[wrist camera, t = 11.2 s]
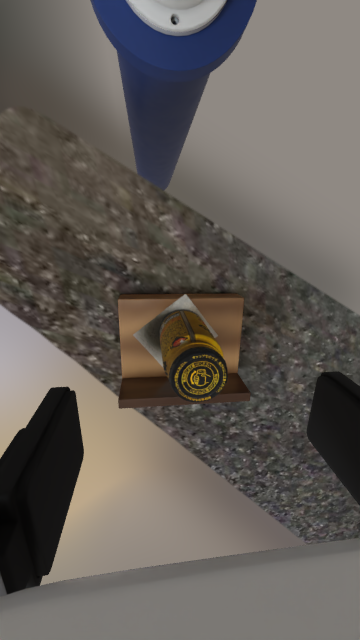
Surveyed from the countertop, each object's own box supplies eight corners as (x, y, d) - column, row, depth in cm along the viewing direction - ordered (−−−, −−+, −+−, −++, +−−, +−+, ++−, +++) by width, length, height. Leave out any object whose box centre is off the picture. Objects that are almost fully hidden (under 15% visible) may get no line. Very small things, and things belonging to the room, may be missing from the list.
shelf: (120, 294, 34) (112, 310, 27) (236, 293, 36) (260, 307, 28) (124, 374, 38) (118, 408, 30) (230, 370, 40) (249, 401, 32)
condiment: (217, 335, 34) (252, 382, 23) (167, 372, 35) (177, 436, 24) (185, 293, 32) (205, 322, 21) (132, 333, 33) (124, 383, 21)
